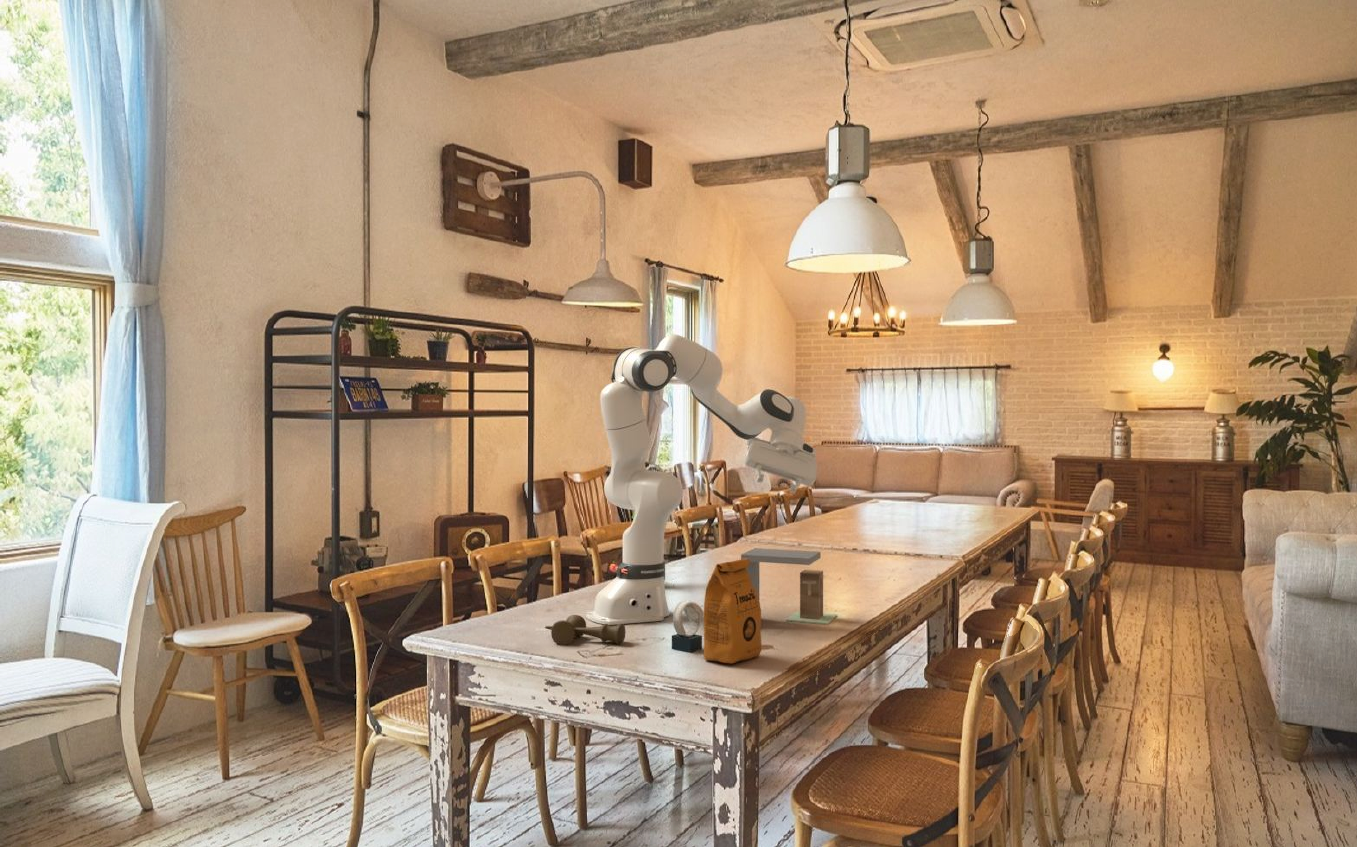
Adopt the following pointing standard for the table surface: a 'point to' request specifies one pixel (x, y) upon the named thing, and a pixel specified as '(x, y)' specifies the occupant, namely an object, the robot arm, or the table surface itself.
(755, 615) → the coffee package
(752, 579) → the awning
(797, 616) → the mat
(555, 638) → the kendama
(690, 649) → the white ring on block
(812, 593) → the letter block
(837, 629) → the table surface
